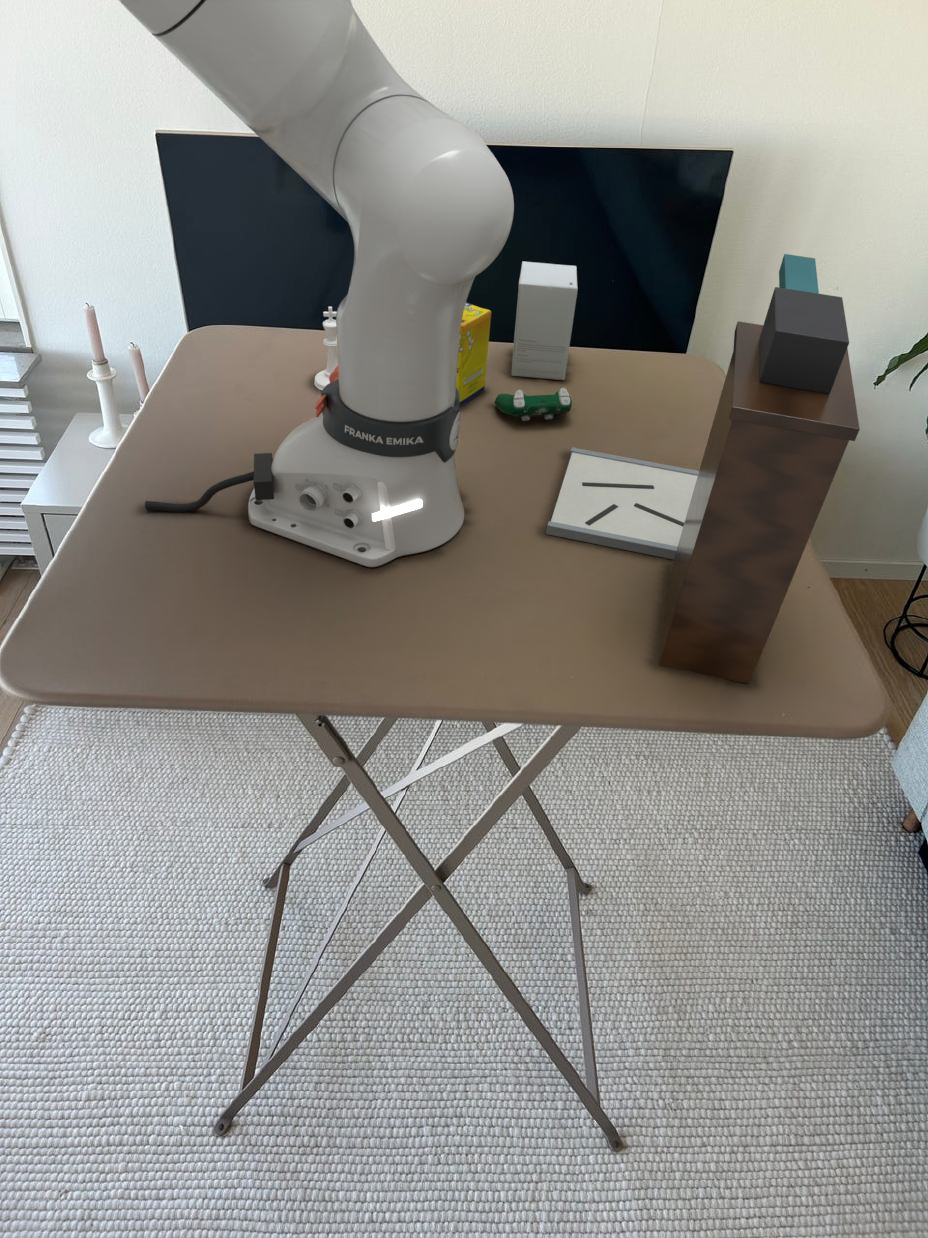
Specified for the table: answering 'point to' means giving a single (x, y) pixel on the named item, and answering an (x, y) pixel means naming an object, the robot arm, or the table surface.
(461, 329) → the supplement box
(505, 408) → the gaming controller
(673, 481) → the whiteboard
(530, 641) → the table surface
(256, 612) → the table surface
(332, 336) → the chess piece
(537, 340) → the white packaging box
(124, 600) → the table surface
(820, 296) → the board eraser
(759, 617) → the walnut pedestal
